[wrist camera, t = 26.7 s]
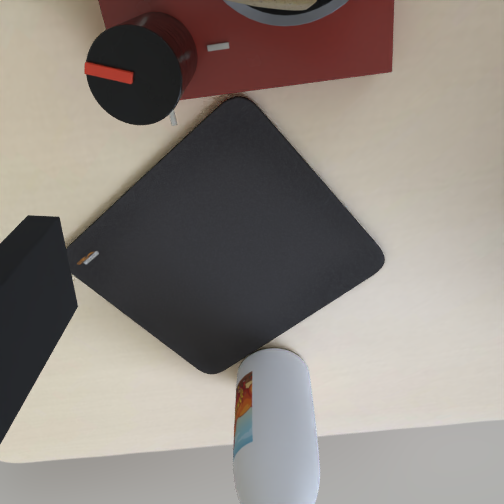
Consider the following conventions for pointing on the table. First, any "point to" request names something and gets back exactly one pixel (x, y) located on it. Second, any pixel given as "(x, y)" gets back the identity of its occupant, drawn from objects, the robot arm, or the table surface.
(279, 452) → the milk bottle
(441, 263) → the table surface
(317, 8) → the burner plate
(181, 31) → the dial
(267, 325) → the mouse pad
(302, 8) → the ceramic mug
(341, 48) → the hotplate
